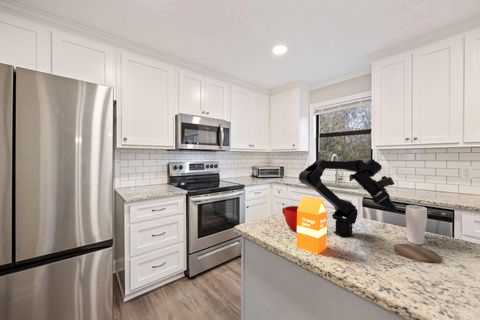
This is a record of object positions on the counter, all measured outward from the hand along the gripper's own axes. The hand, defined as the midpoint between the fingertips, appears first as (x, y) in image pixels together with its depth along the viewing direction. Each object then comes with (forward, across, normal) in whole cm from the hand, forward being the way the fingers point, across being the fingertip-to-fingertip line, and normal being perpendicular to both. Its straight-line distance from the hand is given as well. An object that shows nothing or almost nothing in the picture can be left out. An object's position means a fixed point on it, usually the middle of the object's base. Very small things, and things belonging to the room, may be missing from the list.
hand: (395, 209), depth 90 cm
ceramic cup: (-20, -10, +39) cm, 45 cm away
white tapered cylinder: (+14, 0, +4) cm, 15 cm away
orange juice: (-11, -29, +30) cm, 43 cm away
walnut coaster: (+13, -13, +6) cm, 20 cm away
